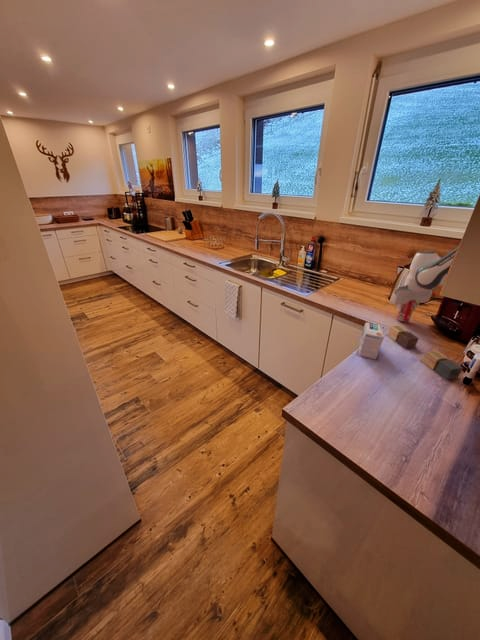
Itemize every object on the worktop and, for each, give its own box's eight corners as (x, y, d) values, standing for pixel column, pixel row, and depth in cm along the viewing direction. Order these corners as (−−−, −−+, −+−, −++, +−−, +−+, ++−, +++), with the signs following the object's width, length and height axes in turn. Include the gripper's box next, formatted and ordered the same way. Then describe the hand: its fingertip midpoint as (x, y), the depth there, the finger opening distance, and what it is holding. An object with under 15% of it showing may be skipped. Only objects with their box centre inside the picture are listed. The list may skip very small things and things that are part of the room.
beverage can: (408, 318, 136) (416, 297, 131) (409, 323, 131) (418, 301, 126) (395, 315, 139) (402, 294, 133) (395, 320, 134) (403, 299, 128)
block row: (396, 334, 123) (399, 325, 121) (457, 378, 97) (463, 367, 94) (387, 335, 122) (390, 326, 120) (446, 380, 96) (452, 369, 93)
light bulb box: (358, 342, 116) (365, 321, 111) (375, 346, 114) (382, 324, 108) (358, 355, 107) (365, 333, 102) (376, 360, 105) (384, 337, 100)
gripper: (401, 288, 121) (392, 315, 128) (437, 286, 125) (427, 311, 132) (391, 283, 127) (383, 309, 133) (426, 281, 131) (417, 306, 137)
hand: (405, 310), depth 132 cm, fingers closed on beverage can, 6 cm apart
